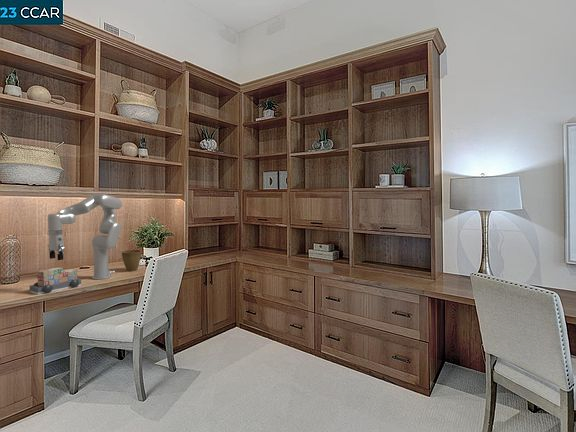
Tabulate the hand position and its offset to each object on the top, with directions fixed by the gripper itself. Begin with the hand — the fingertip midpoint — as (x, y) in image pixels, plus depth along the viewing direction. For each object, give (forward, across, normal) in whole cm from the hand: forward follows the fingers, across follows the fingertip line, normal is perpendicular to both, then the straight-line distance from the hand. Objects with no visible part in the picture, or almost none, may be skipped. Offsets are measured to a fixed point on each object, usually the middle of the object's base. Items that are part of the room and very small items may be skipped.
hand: (56, 259), depth 220 cm
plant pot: (+21, +10, -61) cm, 65 cm away
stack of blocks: (+18, 0, 0) cm, 19 cm away
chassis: (+19, 0, +1) cm, 19 cm away
